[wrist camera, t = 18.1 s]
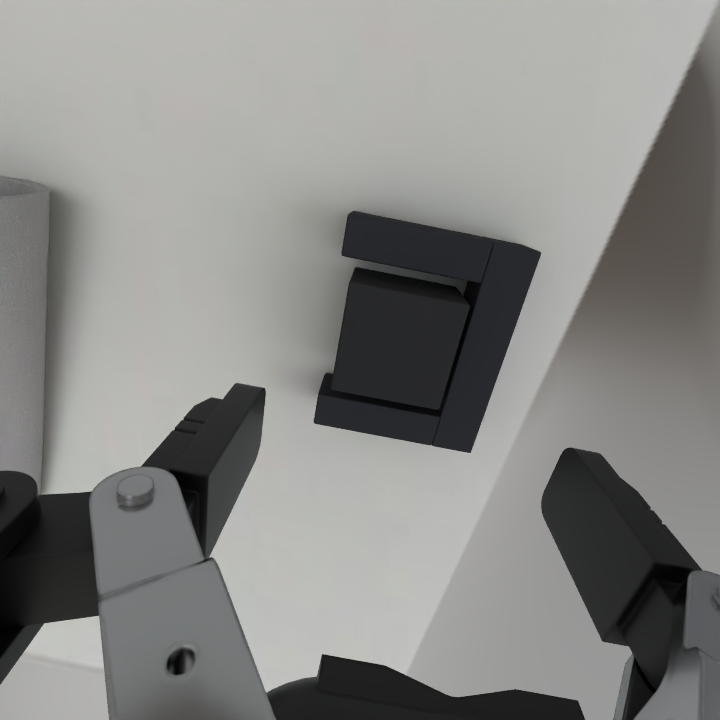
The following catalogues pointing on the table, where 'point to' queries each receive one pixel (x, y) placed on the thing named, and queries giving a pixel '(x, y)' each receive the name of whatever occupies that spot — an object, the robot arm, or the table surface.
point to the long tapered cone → (23, 323)
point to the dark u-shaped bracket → (478, 339)
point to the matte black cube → (398, 338)
